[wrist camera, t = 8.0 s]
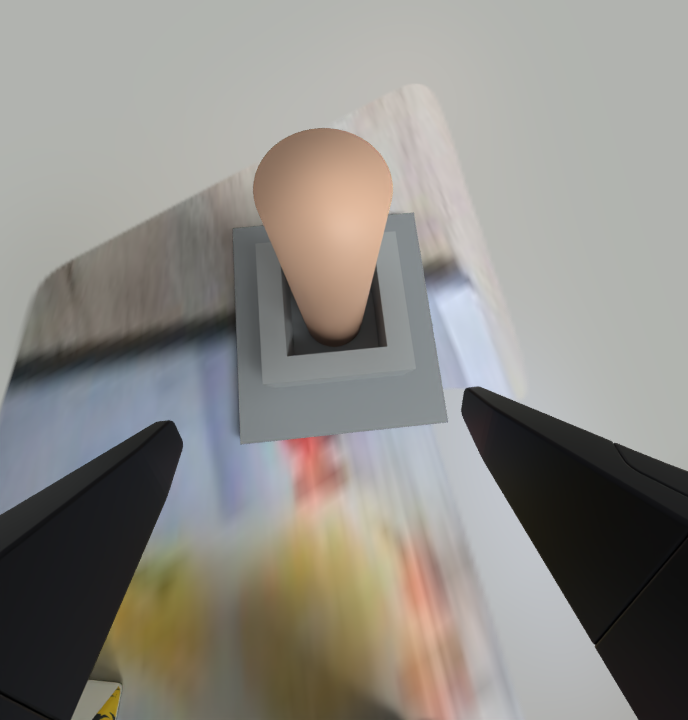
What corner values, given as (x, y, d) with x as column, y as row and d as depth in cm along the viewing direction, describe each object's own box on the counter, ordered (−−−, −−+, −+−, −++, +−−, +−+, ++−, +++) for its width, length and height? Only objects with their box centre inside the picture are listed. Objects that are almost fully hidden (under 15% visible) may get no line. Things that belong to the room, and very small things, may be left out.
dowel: (351, 354, 19) (367, 269, 7) (298, 336, 19) (231, 225, 8) (368, 303, 20) (410, 150, 8) (317, 286, 20) (283, 112, 8)
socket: (442, 421, 19) (468, 424, 16) (245, 442, 19) (220, 451, 15) (410, 221, 22) (425, 180, 18) (237, 236, 22) (214, 198, 18)
